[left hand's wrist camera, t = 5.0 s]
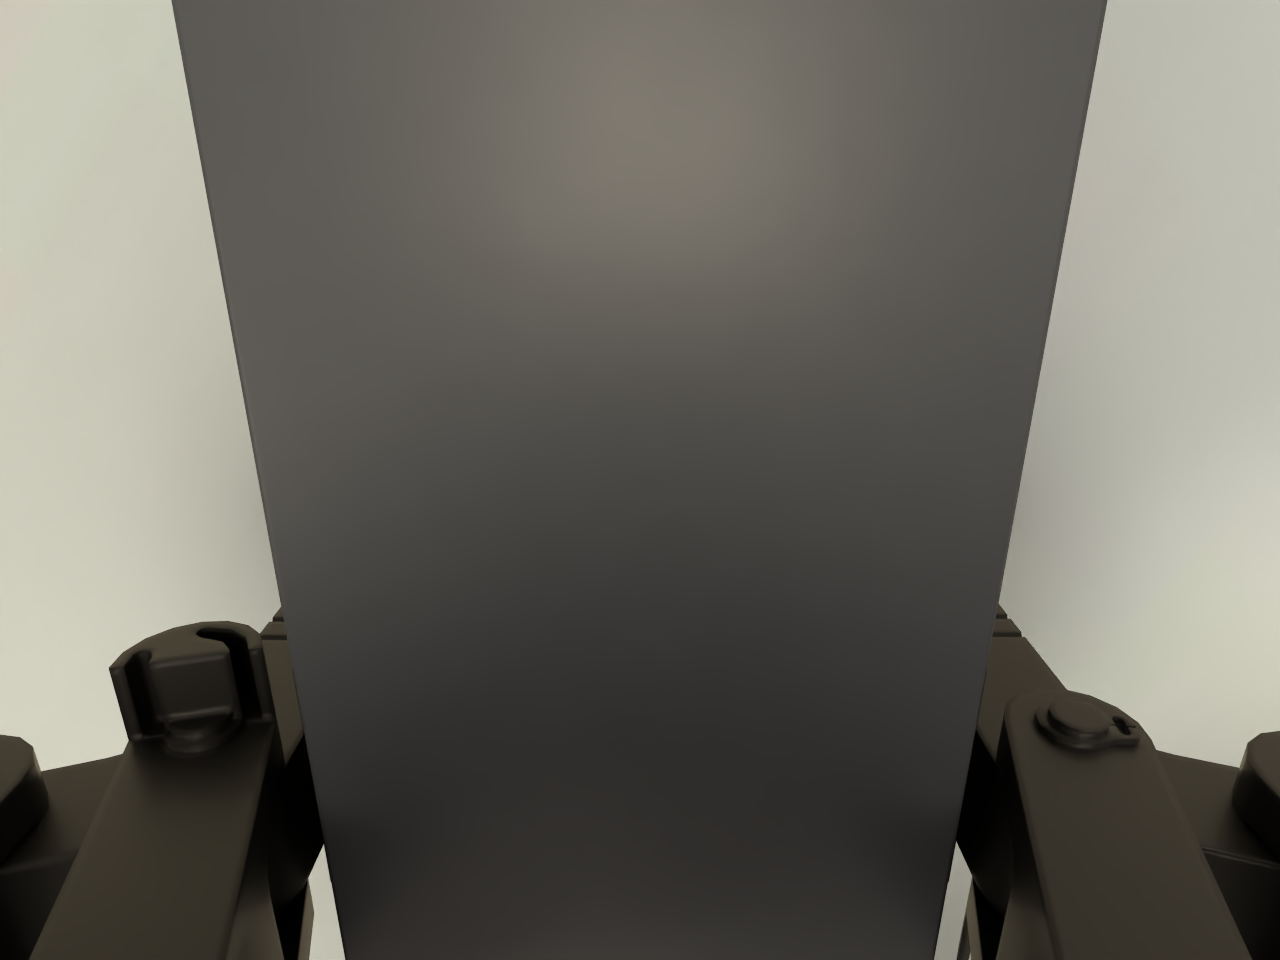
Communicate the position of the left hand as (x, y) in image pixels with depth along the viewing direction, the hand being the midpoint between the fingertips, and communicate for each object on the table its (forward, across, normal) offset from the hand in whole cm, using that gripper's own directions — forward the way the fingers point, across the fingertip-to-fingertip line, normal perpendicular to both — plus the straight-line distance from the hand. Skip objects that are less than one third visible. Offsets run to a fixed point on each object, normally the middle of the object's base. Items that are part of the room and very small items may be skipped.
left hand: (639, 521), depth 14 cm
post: (+1, 0, -34) cm, 34 cm away
